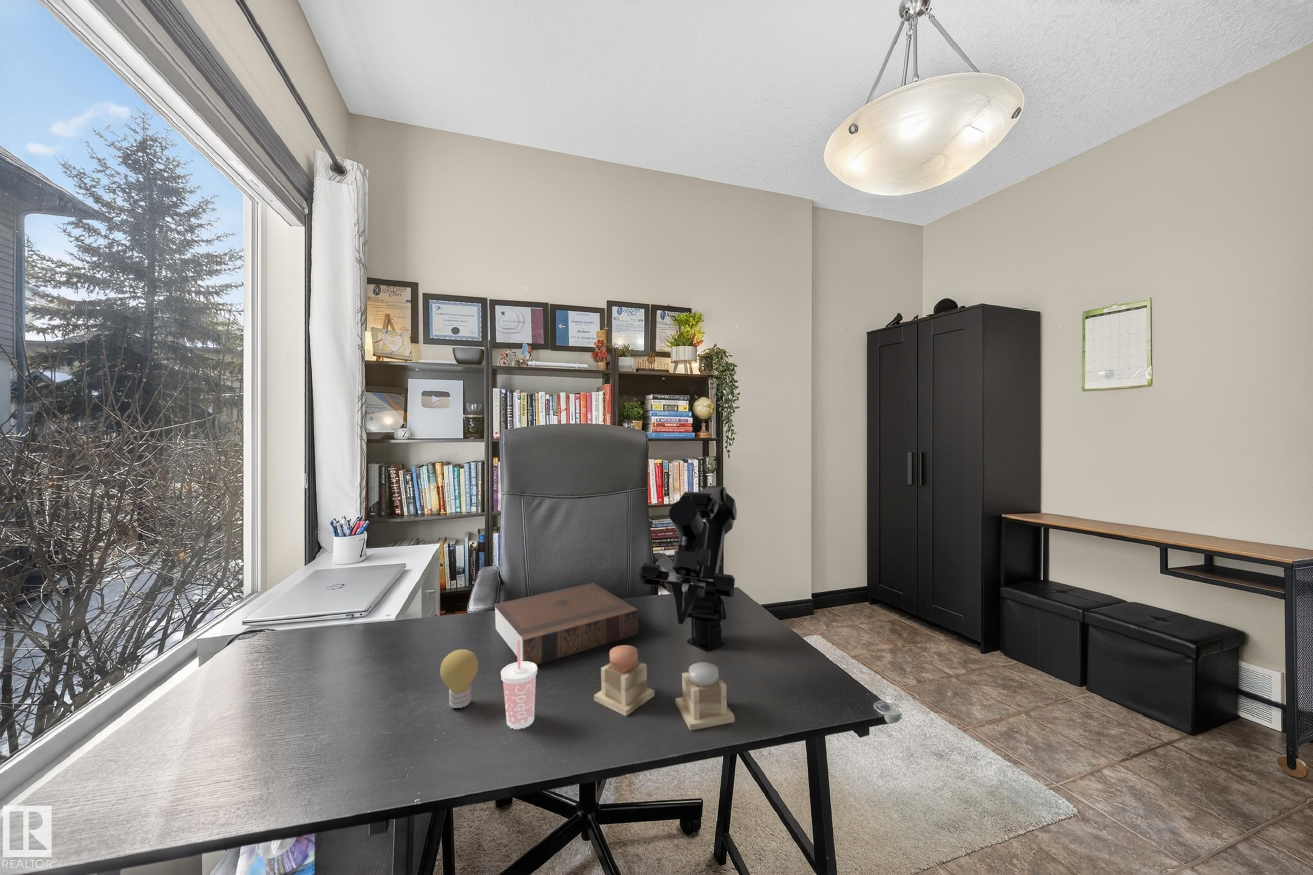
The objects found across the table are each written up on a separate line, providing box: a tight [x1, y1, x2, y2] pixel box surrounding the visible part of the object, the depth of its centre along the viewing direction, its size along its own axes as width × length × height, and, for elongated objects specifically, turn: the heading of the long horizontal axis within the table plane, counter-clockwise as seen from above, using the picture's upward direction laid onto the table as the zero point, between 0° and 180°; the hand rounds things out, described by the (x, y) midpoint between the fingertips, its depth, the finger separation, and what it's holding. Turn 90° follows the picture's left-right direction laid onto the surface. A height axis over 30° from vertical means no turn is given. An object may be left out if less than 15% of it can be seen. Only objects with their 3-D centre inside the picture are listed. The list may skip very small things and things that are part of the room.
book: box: [493, 582, 639, 666], centre depth 119 cm, size 24×28×6 cm
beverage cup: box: [500, 641, 538, 730], centre depth 83 cm, size 6×6×14 cm
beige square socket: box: [675, 671, 736, 731], centre depth 85 cm, size 8×8×6 cm
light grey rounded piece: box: [688, 662, 720, 687], centre depth 85 cm, size 5×5×6 cm
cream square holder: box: [593, 660, 656, 717], centre depth 90 cm, size 8×8×6 cm
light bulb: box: [439, 649, 479, 709], centre depth 88 cm, size 6×6×10 cm
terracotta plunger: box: [609, 644, 639, 674], centre depth 90 cm, size 5×5×6 cm
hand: (680, 624), depth 92 cm, fingers closed
